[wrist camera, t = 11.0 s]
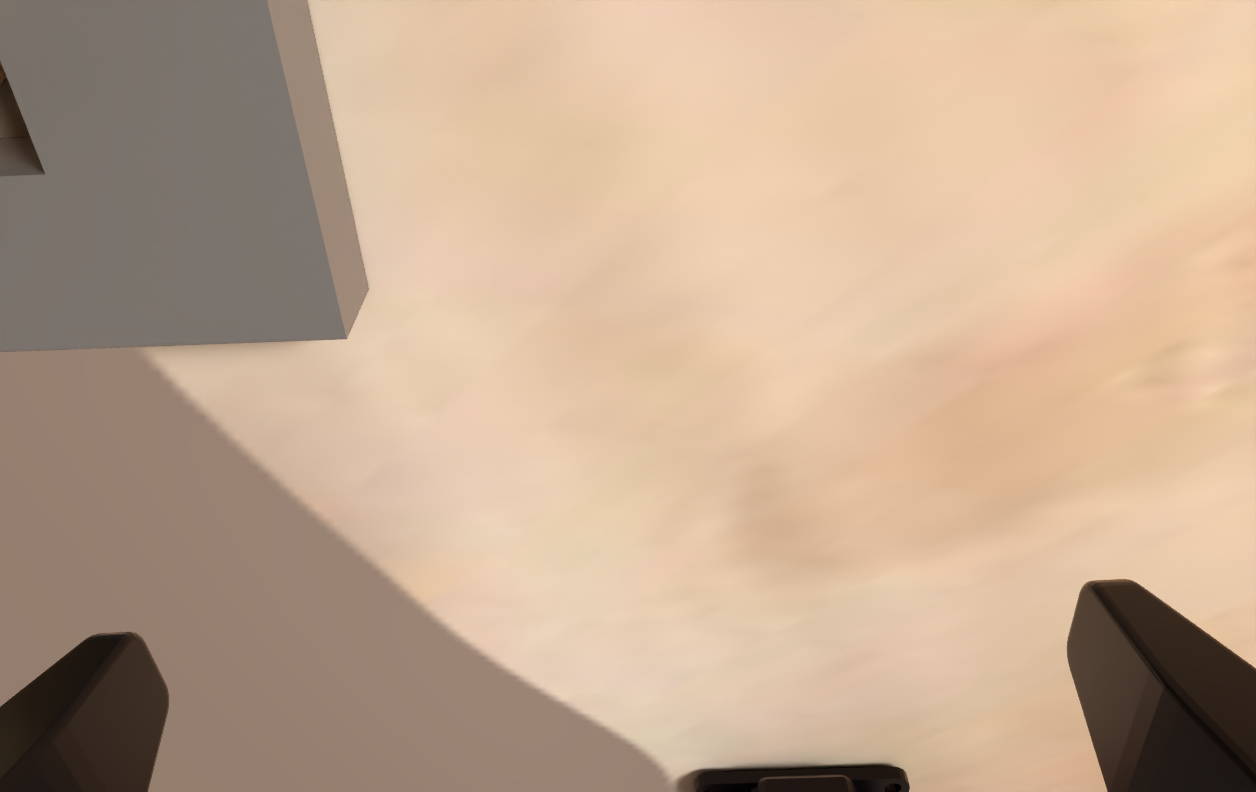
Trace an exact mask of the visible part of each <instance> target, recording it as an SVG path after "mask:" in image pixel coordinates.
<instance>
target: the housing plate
mask: <svg viewBox="0 0 1256 792" xmlns="http://www.w3.org/2000/svg"><path fill="white" fill-rule="evenodd" d="M0 61H1V64H2V66H3V69H4V71H5V74H6V76H7V79H8V81H9V84H10V86H11V89H12V91H13V94H14V97H15V99H16V102H17V104H18V107H19V109H20V112H21V114H22V117H23V119H24V122H25V124H26V127H27V129H28V132H29V134H30V137H17V138H0V352H12V351H39V350H66V349H92V348H120V347H147V346H174V345H201V344H228V343H255V342H282V341H309V340H336V339H347V338H348V335H349V333H350V331H351V329H352V326H353V324H354V322H355V320H356V317H357V315H358V313H359V310H360V308H361V306H362V304H363V301H364V299H365V297H366V295H367V292H368V290H369V288H368V283H367V278H366V274H365V269H364V264H363V260H362V255H361V250H360V245H359V241H358V236H357V231H356V227H355V222H354V217H353V213H352V208H351V203H350V199H349V194H348V189H347V185H346V180H345V175H344V171H343V166H342V161H341V157H340V152H339V147H338V142H337V138H336V133H335V128H334V124H333V119H332V114H331V110H330V105H329V100H328V96H327V91H326V86H325V82H324V77H323V72H322V68H321V63H320V58H319V54H318V49H317V44H316V39H315V35H314V30H313V25H312V21H311V16H310V11H309V7H308V2H307V0H0Z"/></svg>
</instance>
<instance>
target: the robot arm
mask: <svg viewBox="0 0 1256 792" xmlns="http://www.w3.org/2000/svg"><path fill="white" fill-rule="evenodd" d="M1067 657H1068V663H1069V667H1070V671H1071V674H1072V677H1073V680H1074V684H1075V687H1076V690H1077V693H1078V697H1079V700H1080V703H1081V706H1082V710H1083V713H1084V716H1085V719H1086V723H1087V726H1088V729H1089V732H1090V736H1091V739H1092V742H1093V745H1094V749H1095V752H1096V755H1097V758H1098V762H1099V765H1100V768H1101V771H1102V775H1103V778H1104V781H1105V784H1106V788H1107V791H1108V792H1256V668H1255V667H1253V666H1252V665H1250V664H1249V663H1248V662H1246V661H1245V660H1243V659H1242V658H1241V657H1239V656H1238V655H1237V654H1235V653H1234V652H1232V651H1231V650H1230V649H1228V648H1227V647H1225V646H1224V645H1223V644H1221V643H1220V642H1219V641H1217V640H1216V639H1214V638H1213V637H1212V636H1210V635H1209V634H1207V633H1206V632H1205V631H1203V630H1202V629H1201V628H1199V627H1198V626H1196V625H1195V624H1194V623H1192V622H1191V621H1189V620H1188V619H1187V618H1185V617H1184V616H1183V615H1181V614H1180V613H1178V612H1177V611H1176V610H1174V609H1173V608H1171V607H1170V606H1169V605H1167V604H1166V603H1164V602H1163V601H1162V600H1160V599H1159V598H1158V597H1156V596H1155V595H1153V594H1152V593H1151V592H1149V591H1148V590H1146V589H1145V588H1144V587H1142V586H1141V585H1139V584H1138V583H1136V582H1134V581H1131V580H1127V579H1116V580H1097V581H1090V582H1087V583H1086V584H1085V585H1084V586H1083V587H1082V589H1081V591H1080V594H1079V598H1078V601H1077V605H1076V609H1075V613H1074V617H1073V621H1072V624H1071V628H1070V632H1069V636H1068V641H1067ZM168 708H169V694H168V689H167V686H166V684H165V681H164V679H163V677H162V675H161V673H160V672H159V669H158V667H157V665H156V663H155V661H154V659H153V657H152V655H151V653H150V651H149V649H148V647H147V645H146V643H145V641H144V640H143V638H142V637H141V636H139V635H138V634H136V633H133V632H119V633H101V634H96V635H92V636H90V637H89V638H87V639H86V640H84V641H83V642H82V643H80V644H79V645H78V646H76V647H75V648H74V649H73V650H71V651H70V652H69V653H68V654H66V655H65V656H64V657H63V658H61V659H60V660H59V661H57V662H56V663H55V664H54V665H53V666H51V667H50V668H49V669H47V670H46V671H45V672H44V673H42V674H41V675H40V676H39V677H37V678H36V679H35V680H34V681H32V682H31V683H30V684H28V685H27V686H26V687H25V688H23V689H22V690H21V691H20V692H18V693H17V694H16V695H15V696H13V697H12V698H11V699H10V700H8V701H7V702H6V703H5V704H3V705H2V706H1V707H0V792H148V789H149V785H150V781H151V777H152V773H153V769H154V765H155V761H156V757H157V753H158V749H159V745H160V742H161V738H162V734H163V730H164V726H165V722H166V718H167V714H168ZM909 789H910V787H909V782H908V778H907V775H906V772H905V771H904V770H903V769H901V768H898V767H869V768H836V769H803V770H770V771H736V772H709V773H703V774H701V775H698V776H697V777H696V778H695V779H694V782H693V792H909Z"/></svg>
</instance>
